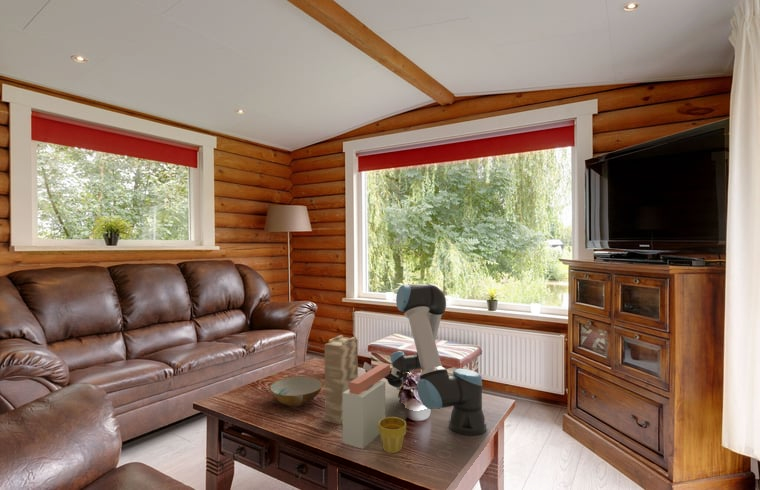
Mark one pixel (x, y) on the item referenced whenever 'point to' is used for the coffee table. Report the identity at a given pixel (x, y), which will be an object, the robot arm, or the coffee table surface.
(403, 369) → the robot arm
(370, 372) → the coral square-faced block
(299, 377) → the bowl
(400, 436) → the plant pot
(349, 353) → the birch stand
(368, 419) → the pale green paneled block
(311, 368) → the coffee table surface
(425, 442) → the coffee table surface
